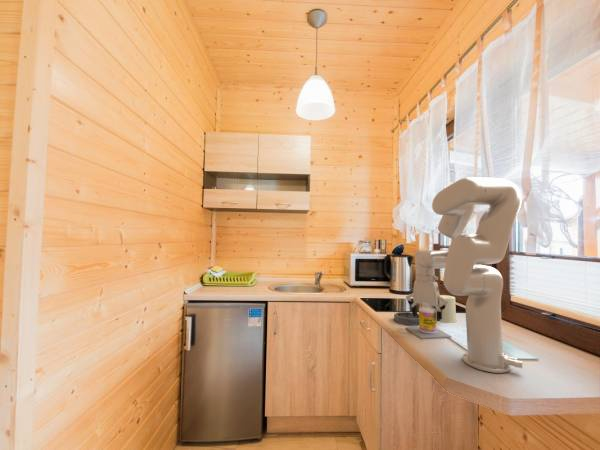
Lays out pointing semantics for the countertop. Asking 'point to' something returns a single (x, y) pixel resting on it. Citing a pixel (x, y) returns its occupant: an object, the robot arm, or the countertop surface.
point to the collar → (406, 318)
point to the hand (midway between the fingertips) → (426, 318)
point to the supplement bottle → (427, 319)
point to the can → (448, 310)
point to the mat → (422, 335)
